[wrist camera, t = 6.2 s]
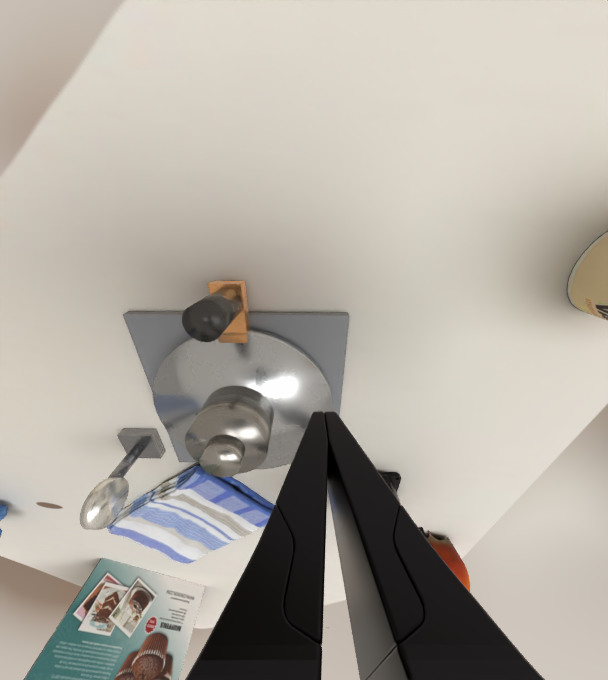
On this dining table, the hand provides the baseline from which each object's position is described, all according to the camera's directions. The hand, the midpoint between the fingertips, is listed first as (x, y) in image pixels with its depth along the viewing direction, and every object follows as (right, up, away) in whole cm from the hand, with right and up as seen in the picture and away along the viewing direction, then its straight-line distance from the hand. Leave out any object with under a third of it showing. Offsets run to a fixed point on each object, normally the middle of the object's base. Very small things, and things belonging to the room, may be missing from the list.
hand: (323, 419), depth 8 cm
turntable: (-7, -2, +14) cm, 16 cm away
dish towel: (-18, -25, +27) cm, 41 cm away
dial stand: (-21, -10, +19) cm, 30 cm away
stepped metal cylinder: (-7, -5, +14) cm, 16 cm away
